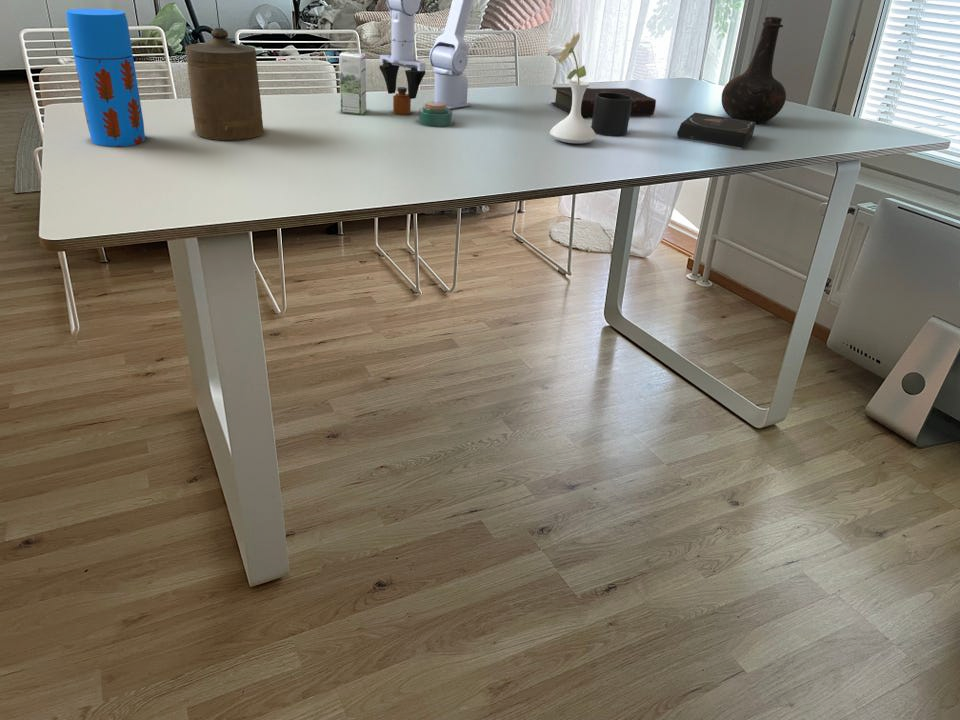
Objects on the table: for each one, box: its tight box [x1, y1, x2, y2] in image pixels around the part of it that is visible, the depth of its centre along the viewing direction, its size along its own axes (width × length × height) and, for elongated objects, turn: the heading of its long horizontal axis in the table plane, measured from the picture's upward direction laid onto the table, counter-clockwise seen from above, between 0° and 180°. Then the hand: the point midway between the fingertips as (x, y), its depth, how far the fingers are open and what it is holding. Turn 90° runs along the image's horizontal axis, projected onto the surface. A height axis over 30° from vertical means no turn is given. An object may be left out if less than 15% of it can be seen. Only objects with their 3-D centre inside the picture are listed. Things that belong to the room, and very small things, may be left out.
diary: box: [550, 86, 657, 117], centre depth 217 cm, size 19×25×5 cm
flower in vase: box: [549, 32, 597, 144], centre depth 177 cm, size 13×11×25 cm
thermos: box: [65, 8, 146, 148], centre depth 152 cm, size 11×11×25 cm
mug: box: [590, 93, 632, 137], centre depth 193 cm, size 9×12×9 cm
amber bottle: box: [392, 86, 412, 116], centre depth 197 cm, size 5×5×6 cm
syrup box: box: [338, 51, 367, 115], centre depth 192 cm, size 6×6×14 cm
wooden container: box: [185, 27, 264, 141], centre depth 164 cm, size 15×15×22 cm
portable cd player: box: [676, 112, 757, 151], centre depth 196 cm, size 16×17×4 cm
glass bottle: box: [721, 16, 787, 124], centre depth 213 cm, size 18×18×28 cm
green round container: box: [418, 100, 454, 128], centre depth 190 cm, size 9×9×5 cm
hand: (401, 95), depth 196 cm, fingers open, 7 cm apart
